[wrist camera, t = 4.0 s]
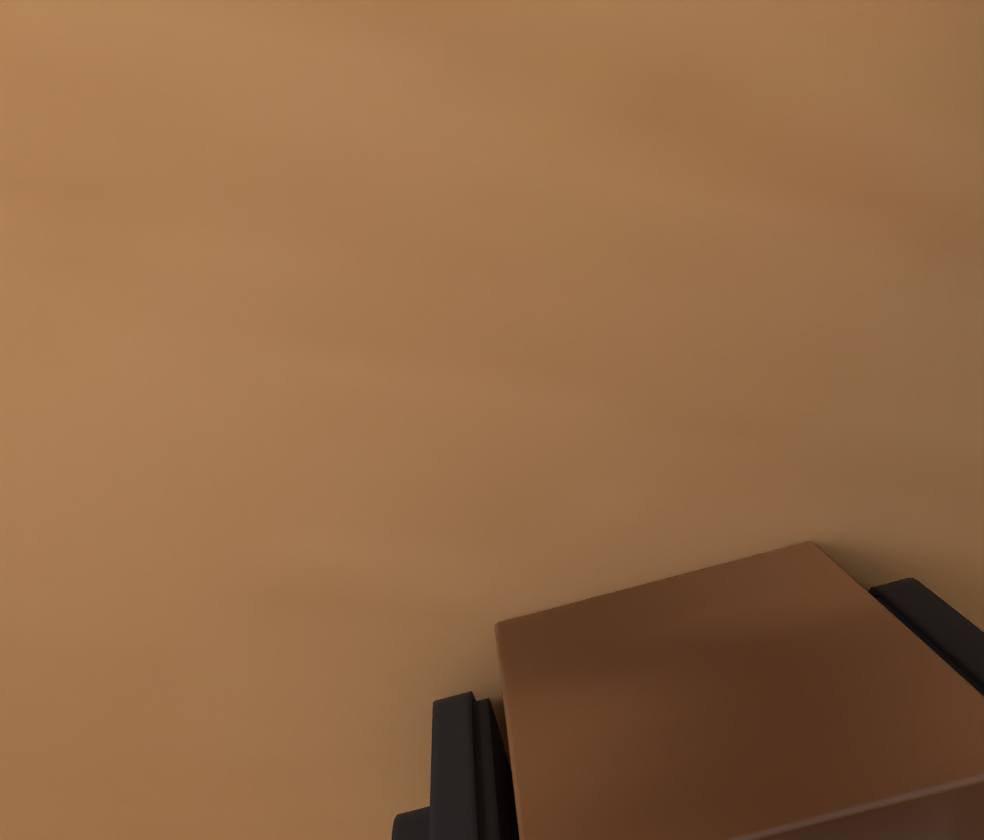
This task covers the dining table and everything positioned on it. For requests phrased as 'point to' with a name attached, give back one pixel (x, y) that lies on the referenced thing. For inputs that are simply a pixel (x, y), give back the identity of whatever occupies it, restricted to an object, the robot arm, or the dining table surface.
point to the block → (738, 713)
